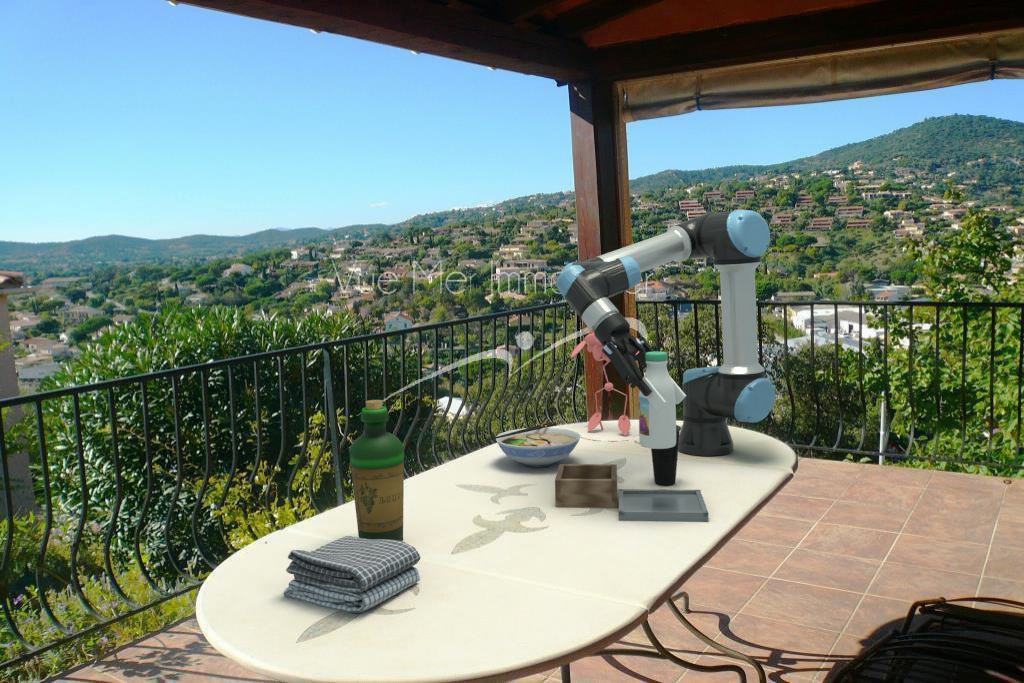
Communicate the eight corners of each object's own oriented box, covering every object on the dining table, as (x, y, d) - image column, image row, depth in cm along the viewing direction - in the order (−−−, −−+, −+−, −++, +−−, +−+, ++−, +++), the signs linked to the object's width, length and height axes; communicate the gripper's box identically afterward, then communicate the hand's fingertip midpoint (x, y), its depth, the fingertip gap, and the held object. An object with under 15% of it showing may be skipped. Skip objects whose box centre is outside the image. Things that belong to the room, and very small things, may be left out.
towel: (365, 620, 120) (363, 571, 119) (279, 598, 129) (276, 552, 128) (424, 583, 133) (422, 538, 132) (342, 565, 142) (340, 524, 141)
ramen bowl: (533, 481, 191) (532, 448, 190) (475, 465, 208) (473, 435, 208) (602, 461, 208) (601, 431, 207) (543, 448, 225) (542, 420, 224)
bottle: (362, 557, 145) (354, 408, 142) (346, 540, 154) (339, 400, 152) (416, 546, 150) (410, 402, 147) (398, 530, 159) (391, 394, 156)
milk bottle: (678, 442, 169) (677, 350, 167) (673, 450, 162) (672, 354, 159) (643, 440, 171) (641, 349, 169) (636, 448, 164) (634, 354, 162)
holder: (617, 489, 182) (616, 464, 182) (617, 507, 169) (616, 480, 169) (559, 489, 184) (559, 464, 184) (555, 507, 171) (554, 480, 170)
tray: (700, 497, 174) (699, 489, 174) (708, 521, 159) (708, 512, 158) (618, 496, 177) (618, 489, 176) (619, 520, 161) (618, 511, 161)
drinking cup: (679, 478, 189) (678, 397, 187) (683, 488, 182) (682, 403, 180) (647, 478, 190) (646, 398, 188) (649, 488, 183) (648, 403, 181)
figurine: (581, 426, 252) (577, 318, 248) (653, 435, 237) (651, 320, 233) (555, 436, 240) (550, 323, 236) (630, 446, 225) (626, 325, 220)
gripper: (623, 330, 182) (685, 406, 172) (568, 339, 167) (633, 422, 158) (642, 308, 178) (707, 384, 168) (588, 315, 163) (655, 399, 154)
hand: (671, 402), depth 163 cm, fingers closed on milk bottle, 7 cm apart
